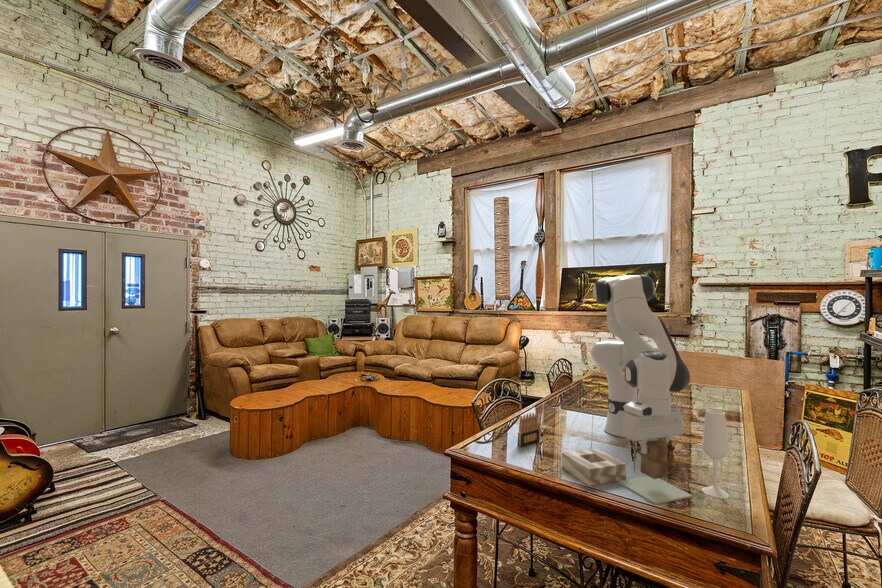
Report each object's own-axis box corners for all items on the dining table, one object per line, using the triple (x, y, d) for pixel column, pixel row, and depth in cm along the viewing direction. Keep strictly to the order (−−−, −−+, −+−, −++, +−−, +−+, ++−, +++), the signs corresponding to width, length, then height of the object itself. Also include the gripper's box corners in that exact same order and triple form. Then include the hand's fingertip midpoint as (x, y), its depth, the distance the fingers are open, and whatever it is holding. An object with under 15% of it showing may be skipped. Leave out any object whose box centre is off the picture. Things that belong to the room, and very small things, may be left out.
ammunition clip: (521, 447, 155) (521, 416, 155) (517, 446, 157) (517, 415, 157) (539, 441, 161) (539, 411, 161) (535, 440, 163) (536, 410, 163)
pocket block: (595, 462, 141) (595, 448, 141) (625, 479, 128) (626, 463, 128) (561, 467, 137) (561, 452, 137) (589, 485, 124) (589, 469, 124)
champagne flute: (698, 486, 124) (698, 407, 124) (723, 489, 122) (724, 409, 122) (706, 496, 118) (706, 413, 118) (732, 499, 116) (733, 415, 116)
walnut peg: (653, 470, 125) (653, 437, 125) (667, 476, 120) (667, 442, 120) (640, 472, 123) (640, 439, 123) (654, 478, 118) (654, 444, 118)
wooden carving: (664, 476, 131) (664, 445, 131) (649, 472, 134) (649, 442, 134) (677, 461, 143) (677, 433, 143) (662, 458, 146) (662, 430, 146)
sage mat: (653, 476, 130) (653, 475, 130) (692, 497, 117) (692, 495, 117) (618, 482, 126) (618, 481, 126) (654, 504, 113) (655, 502, 113)
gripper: (671, 401, 128) (671, 444, 128) (619, 405, 121) (619, 451, 121) (689, 406, 122) (689, 452, 122) (635, 411, 116) (635, 459, 115)
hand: (653, 452), depth 121 cm, fingers closed on walnut peg, 5 cm apart
